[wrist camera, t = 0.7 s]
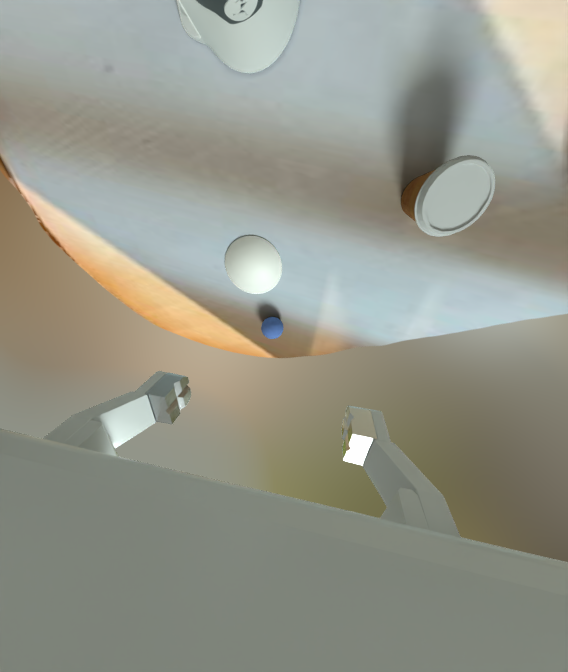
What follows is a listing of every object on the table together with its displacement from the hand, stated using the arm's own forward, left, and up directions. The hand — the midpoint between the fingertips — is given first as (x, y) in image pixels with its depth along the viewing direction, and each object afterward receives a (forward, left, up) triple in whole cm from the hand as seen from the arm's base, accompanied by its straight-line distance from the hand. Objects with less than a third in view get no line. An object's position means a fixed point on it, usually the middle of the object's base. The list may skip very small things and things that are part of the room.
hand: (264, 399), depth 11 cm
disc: (+3, -11, -41) cm, 43 cm away
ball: (+18, -11, -39) cm, 44 cm away
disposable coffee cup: (-1, +23, -42) cm, 47 cm away
